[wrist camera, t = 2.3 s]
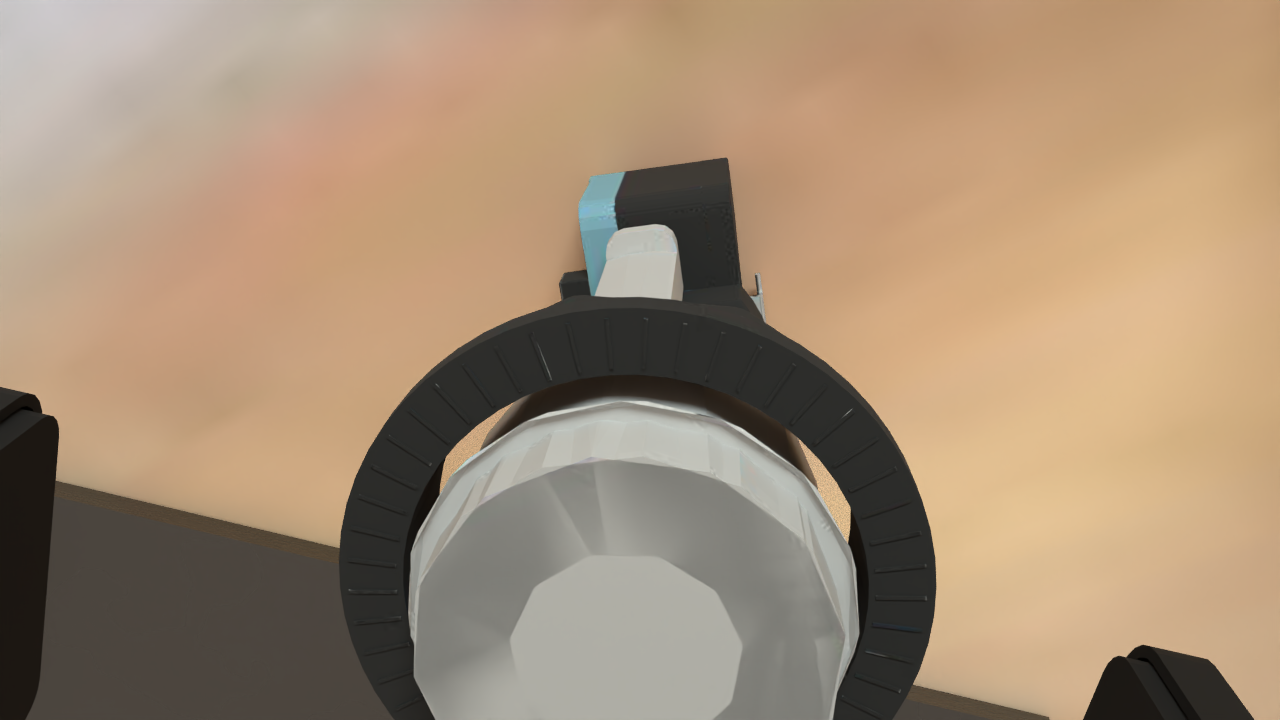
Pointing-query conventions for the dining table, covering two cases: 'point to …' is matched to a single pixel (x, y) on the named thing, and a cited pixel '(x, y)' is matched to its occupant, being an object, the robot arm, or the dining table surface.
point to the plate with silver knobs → (224, 624)
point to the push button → (639, 502)
